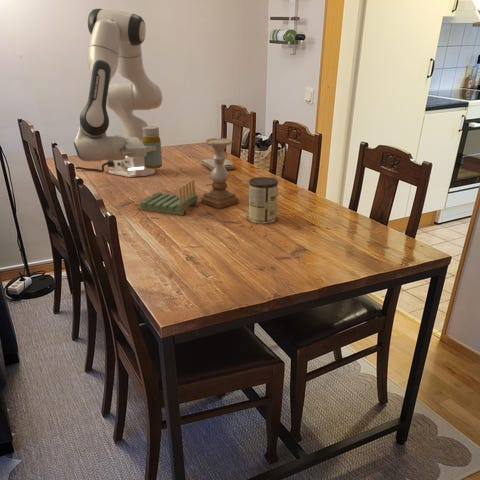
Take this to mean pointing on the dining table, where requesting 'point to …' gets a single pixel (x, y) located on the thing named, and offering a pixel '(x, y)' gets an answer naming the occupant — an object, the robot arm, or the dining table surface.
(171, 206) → the rack
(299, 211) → the dining table surface
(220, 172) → the candle holder
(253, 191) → the coffee can
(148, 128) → the bottle
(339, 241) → the dining table surface
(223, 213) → the dining table surface
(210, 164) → the washcloth
